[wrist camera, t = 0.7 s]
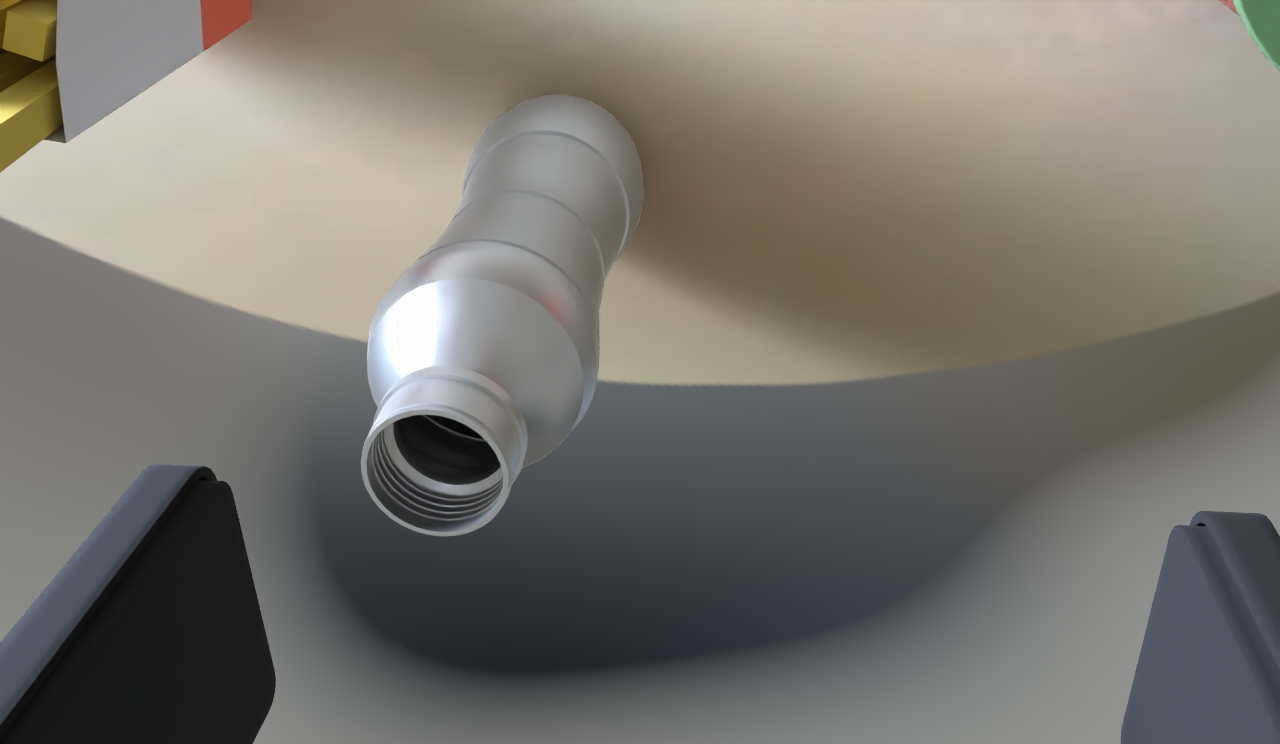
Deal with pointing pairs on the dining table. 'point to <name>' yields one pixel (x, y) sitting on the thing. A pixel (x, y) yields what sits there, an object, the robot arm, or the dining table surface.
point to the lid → (1262, 25)
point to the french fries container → (93, 59)
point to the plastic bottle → (500, 316)
